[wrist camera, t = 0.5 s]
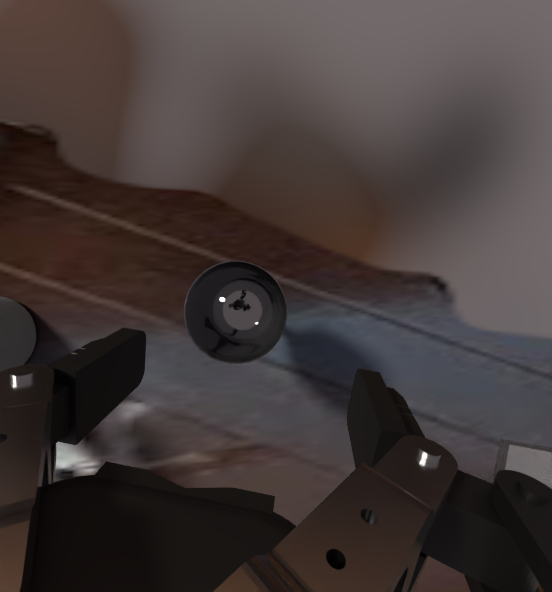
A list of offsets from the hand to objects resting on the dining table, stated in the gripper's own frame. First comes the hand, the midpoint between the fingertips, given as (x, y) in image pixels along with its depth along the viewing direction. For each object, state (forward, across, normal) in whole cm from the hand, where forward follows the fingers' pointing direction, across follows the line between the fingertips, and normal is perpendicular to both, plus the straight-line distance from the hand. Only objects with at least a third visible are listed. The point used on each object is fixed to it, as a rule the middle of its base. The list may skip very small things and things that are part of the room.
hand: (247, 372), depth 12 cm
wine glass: (+27, -4, -5) cm, 28 cm away
